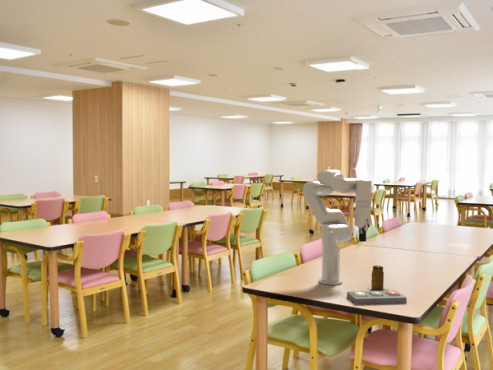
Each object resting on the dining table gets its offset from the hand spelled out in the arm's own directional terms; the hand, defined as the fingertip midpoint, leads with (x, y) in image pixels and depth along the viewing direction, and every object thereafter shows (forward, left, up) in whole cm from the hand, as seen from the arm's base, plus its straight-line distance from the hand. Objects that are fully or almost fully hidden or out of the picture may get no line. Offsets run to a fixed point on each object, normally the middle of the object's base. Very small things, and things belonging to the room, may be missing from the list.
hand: (362, 241), depth 227 cm
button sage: (+8, +4, -26) cm, 28 cm away
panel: (+8, +5, -27) cm, 29 cm away
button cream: (+8, -4, -26) cm, 28 cm away
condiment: (-9, +13, -27) cm, 32 cm away
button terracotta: (+8, +13, -26) cm, 30 cm away
